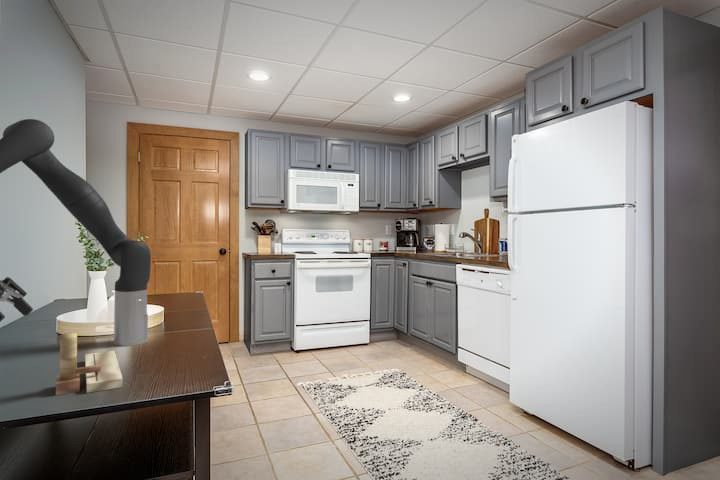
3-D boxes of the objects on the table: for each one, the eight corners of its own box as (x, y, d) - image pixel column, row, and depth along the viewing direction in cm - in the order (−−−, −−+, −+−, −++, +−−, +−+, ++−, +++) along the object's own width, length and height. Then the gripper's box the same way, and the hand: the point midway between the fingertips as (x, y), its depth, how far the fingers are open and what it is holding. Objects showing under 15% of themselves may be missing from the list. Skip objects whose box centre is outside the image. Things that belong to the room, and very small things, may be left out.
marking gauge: (99, 379, 102) (100, 328, 101) (101, 387, 97) (101, 334, 96) (56, 386, 97) (57, 333, 97) (55, 395, 92) (56, 338, 92)
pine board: (114, 357, 119) (114, 350, 119) (122, 387, 97) (122, 378, 97) (85, 361, 115) (85, 354, 115) (86, 392, 93) (86, 383, 93)
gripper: (-55, 255, 86) (3, 311, 87) (-1, 252, 101) (49, 300, 102) (-82, 280, 86) (-24, 336, 87) (-24, 273, 100) (26, 321, 101)
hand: (15, 316), depth 94 cm, fingers open, 8 cm apart
